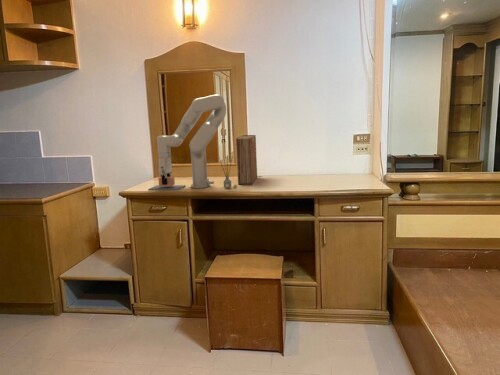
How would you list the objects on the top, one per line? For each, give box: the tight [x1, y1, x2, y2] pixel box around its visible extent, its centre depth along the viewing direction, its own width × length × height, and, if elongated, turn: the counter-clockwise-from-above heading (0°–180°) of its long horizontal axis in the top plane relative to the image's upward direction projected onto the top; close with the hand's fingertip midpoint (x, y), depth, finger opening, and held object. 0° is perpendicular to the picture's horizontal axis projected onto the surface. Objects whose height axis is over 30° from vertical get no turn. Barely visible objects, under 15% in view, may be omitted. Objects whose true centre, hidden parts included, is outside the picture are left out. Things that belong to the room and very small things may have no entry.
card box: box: [158, 176, 176, 186], centre depth 247 cm, size 6×8×5 cm, turn 84°
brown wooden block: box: [235, 134, 258, 186], centre depth 259 cm, size 25×9×30 cm, turn 171°
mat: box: [148, 184, 186, 191], centre depth 248 cm, size 20×12×1 cm, turn 77°
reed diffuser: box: [218, 155, 238, 189], centre depth 240 cm, size 10×7×20 cm
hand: (166, 183), depth 248 cm, fingers closed on card box, 5 cm apart
